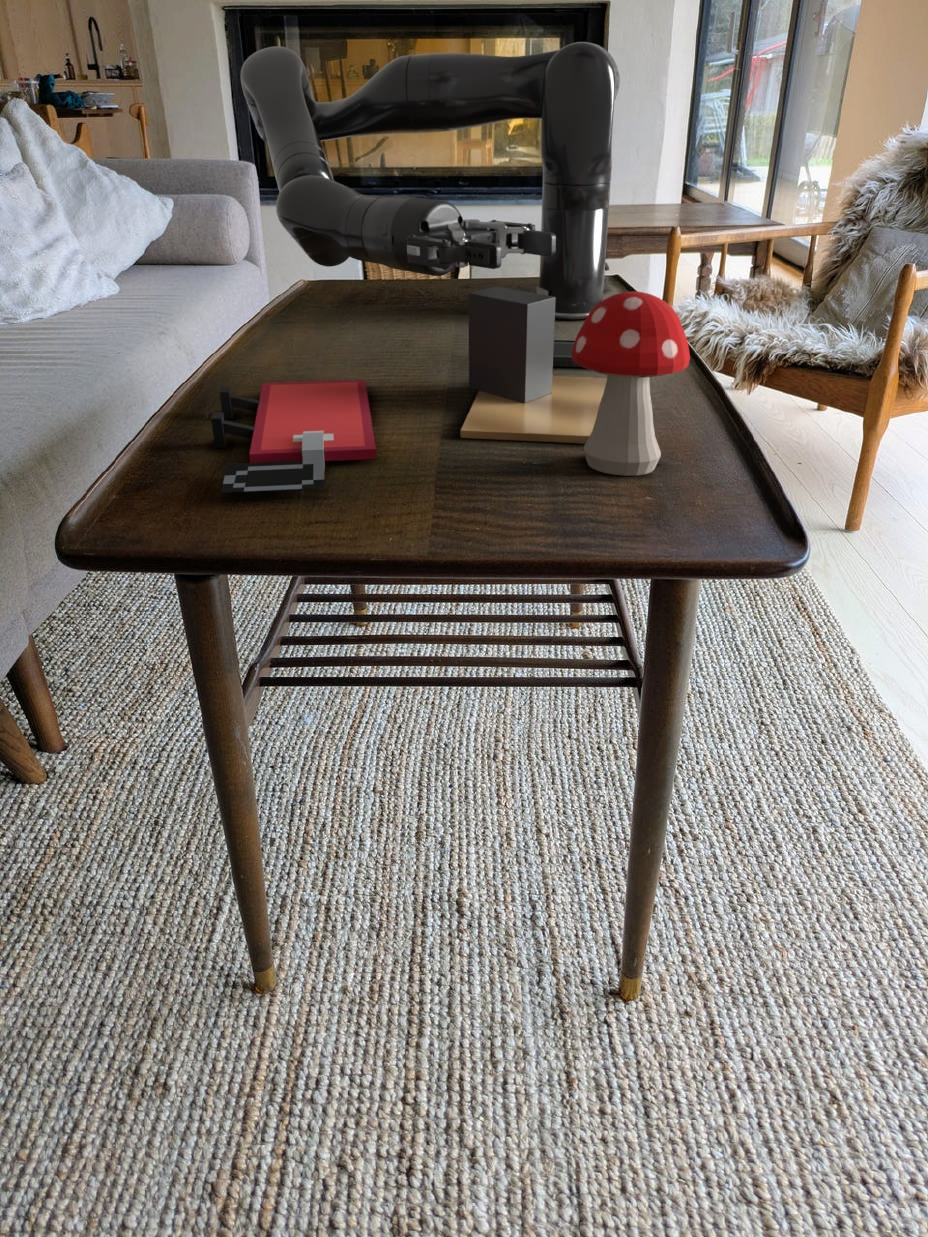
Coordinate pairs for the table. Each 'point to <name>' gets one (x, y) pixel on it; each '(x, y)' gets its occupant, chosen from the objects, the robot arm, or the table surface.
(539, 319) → the tall charcoal box
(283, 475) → the red board with handle
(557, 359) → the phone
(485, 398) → the wooden board
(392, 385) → the table surface
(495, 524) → the table surface
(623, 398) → the decorative mushroom
